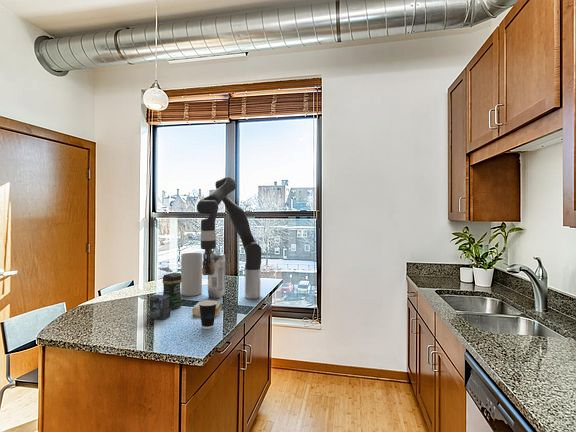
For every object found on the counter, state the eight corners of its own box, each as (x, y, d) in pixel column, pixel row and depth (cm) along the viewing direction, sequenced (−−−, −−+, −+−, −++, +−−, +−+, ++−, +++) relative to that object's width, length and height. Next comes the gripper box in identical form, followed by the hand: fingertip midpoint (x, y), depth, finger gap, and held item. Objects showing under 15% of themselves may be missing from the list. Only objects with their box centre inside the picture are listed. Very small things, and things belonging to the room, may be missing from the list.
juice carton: (226, 294, 205) (226, 251, 205) (221, 298, 195) (221, 253, 194) (212, 294, 206) (212, 251, 206) (206, 298, 196) (206, 253, 195)
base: (221, 309, 174) (221, 301, 174) (216, 316, 162) (216, 307, 162) (198, 308, 174) (199, 300, 174) (192, 316, 162) (192, 307, 162)
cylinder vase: (198, 296, 200) (198, 255, 200) (178, 296, 200) (178, 255, 200) (204, 291, 212) (204, 252, 212) (185, 291, 213) (185, 252, 212)
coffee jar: (170, 311, 170) (170, 275, 170) (159, 308, 174) (159, 274, 173) (184, 306, 179) (184, 272, 179) (173, 304, 182) (173, 271, 182)
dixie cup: (208, 331, 142) (208, 306, 142) (194, 328, 146) (194, 303, 146) (220, 325, 149) (220, 301, 149) (207, 322, 153) (207, 299, 153)
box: (149, 318, 158) (149, 296, 158) (157, 315, 163) (157, 294, 163) (162, 320, 155) (162, 298, 155) (170, 317, 161) (170, 295, 161)
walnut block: (214, 273, 170) (214, 259, 170) (212, 275, 165) (212, 261, 165) (204, 273, 170) (204, 259, 170) (202, 275, 165) (202, 261, 165)
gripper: (212, 240, 160) (213, 275, 161) (218, 238, 175) (218, 269, 175) (197, 240, 160) (198, 275, 160) (204, 238, 174) (204, 270, 175)
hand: (208, 272), depth 168 cm, fingers closed on walnut block, 5 cm apart
